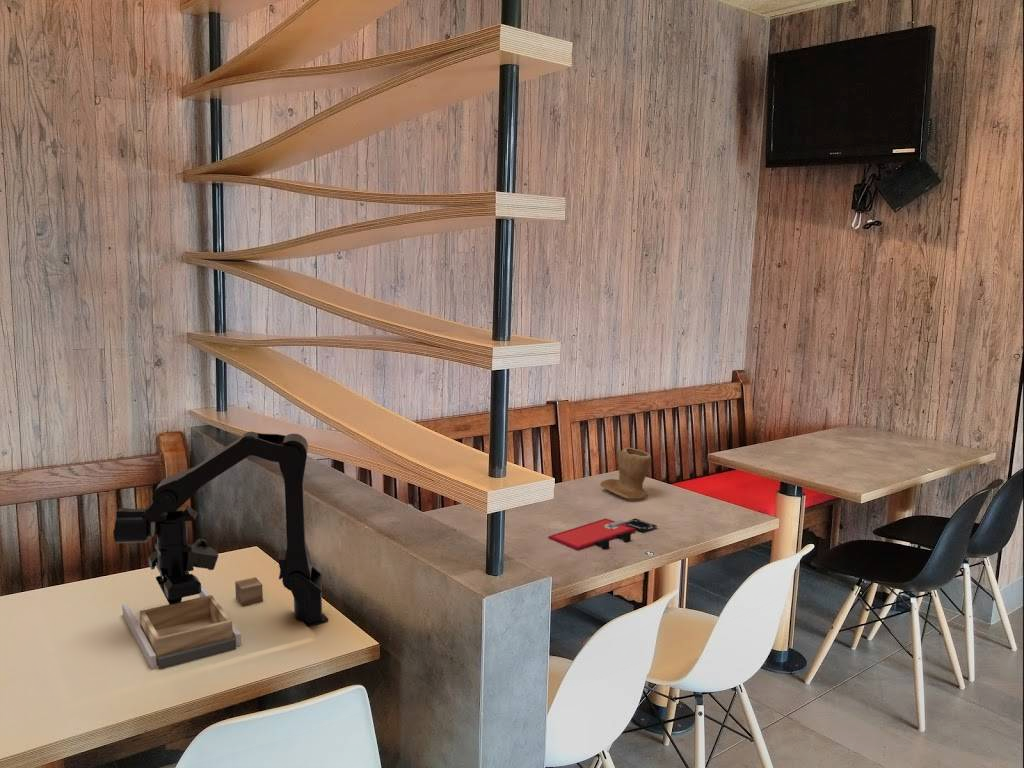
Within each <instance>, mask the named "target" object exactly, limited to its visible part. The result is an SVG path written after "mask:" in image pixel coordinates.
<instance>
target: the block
mask: <svg viewBox="0 0 1024 768" xmlns="http://www.w3.org/2000/svg"><path fill="white" fill-rule="evenodd" d="M234 585H235V589H234V590H235V599H236V601H237V602H238V604H240V606H241V607H245V606H250V605H254V604H259V603H263V601H264V598H263V597H264V594H263V590H264V589H263V584H262V582H261V581H260V580H259V579H258V578H257V576H256V577H251V578H250V577H249V578H246V579H241V580H236V581H234Z"/></svg>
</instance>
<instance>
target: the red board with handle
mask: <svg viewBox="0 0 1024 768" xmlns="http://www.w3.org/2000/svg"><path fill="white" fill-rule="evenodd" d="M656 527H658V525H656V524H653V523H650V522H648V521H645V520H642V519H639V518H633V519H628V520H627V521H624V520H617V521H614V520H612V519H608V518H603V519H600V520H596V521H593V522H589V523H587V524H583V525H580V526H577V527H574V528H570V529H568V530H564V531H560V532H558V533H555V534H552V535H549V536H548V537H547V538H548V539H549V540H551V541H554V542H556V543H558V544H560V545H563V546H565V547H567V548H570V549H572V550H575V551H577V552H578V551H582V550H584V549H585V550H586V549H587V548H591V547H594V546H596V547H597V546H598V547H601V550H602V551H604V550H608V549H610V541H612V540H616V539H623V543H630V542H631V541H632V539H631V538H632V535H631V534H633V533H636V530H637V531H640V532H644V531H647V530H650V529H653V528H656Z"/></svg>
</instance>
